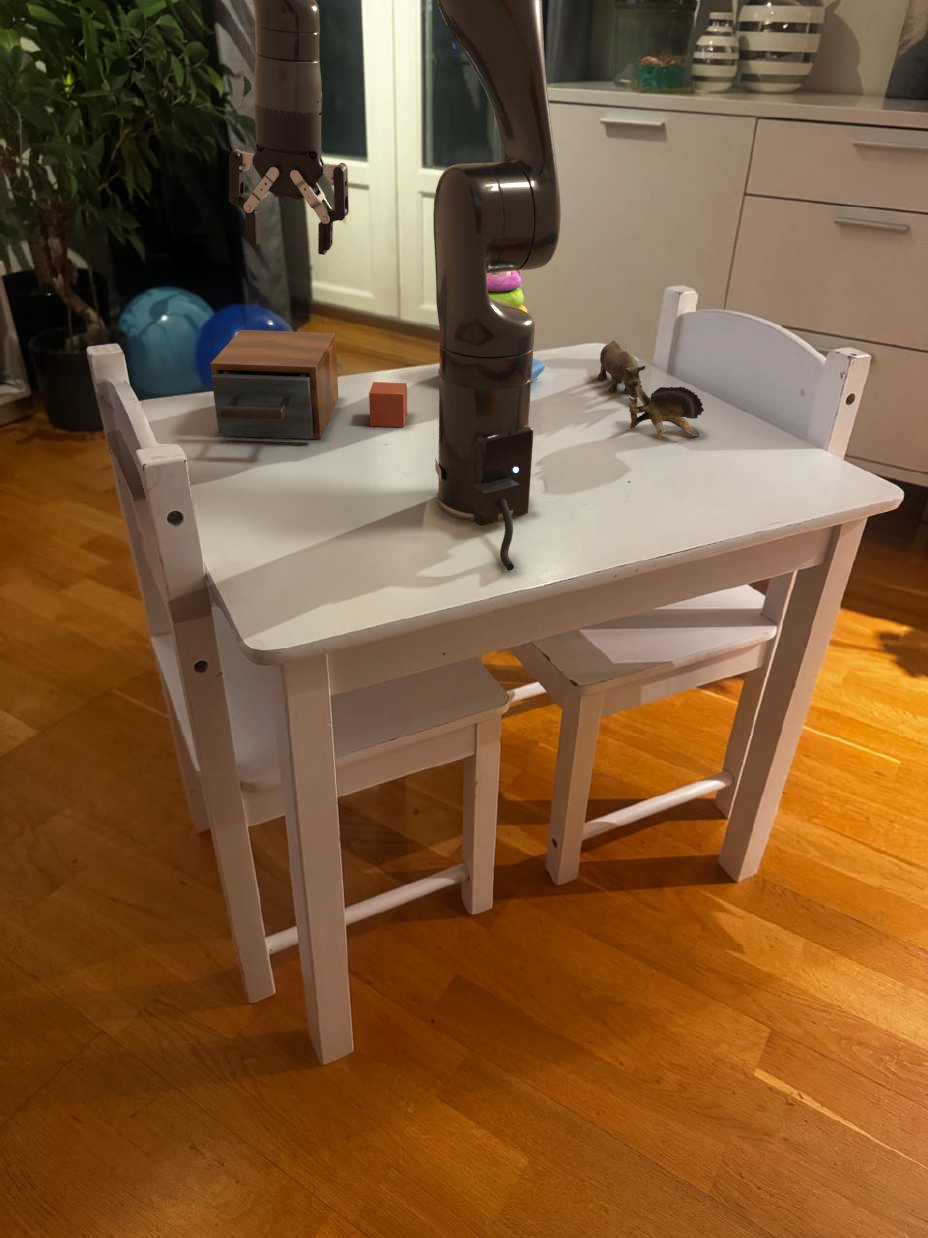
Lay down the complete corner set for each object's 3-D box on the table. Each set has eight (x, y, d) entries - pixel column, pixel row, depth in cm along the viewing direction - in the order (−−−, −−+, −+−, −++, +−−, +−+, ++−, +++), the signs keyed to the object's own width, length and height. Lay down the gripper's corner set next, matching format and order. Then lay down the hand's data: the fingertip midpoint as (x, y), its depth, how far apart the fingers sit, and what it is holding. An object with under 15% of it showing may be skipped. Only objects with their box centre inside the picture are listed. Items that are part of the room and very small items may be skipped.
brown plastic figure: (631, 436, 114) (705, 427, 112) (626, 379, 114) (701, 370, 112) (631, 448, 121) (701, 440, 119) (627, 394, 121) (697, 386, 120)
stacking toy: (474, 361, 142) (479, 197, 129) (549, 376, 136) (561, 206, 124) (427, 385, 132) (427, 209, 119) (505, 402, 126) (514, 220, 114)
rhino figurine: (622, 408, 125) (627, 365, 122) (592, 376, 137) (596, 336, 133) (650, 407, 126) (656, 364, 123) (618, 375, 137) (623, 335, 134)
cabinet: (320, 439, 113) (315, 366, 109) (219, 435, 114) (210, 363, 109) (338, 399, 126) (335, 332, 121) (247, 396, 126) (240, 329, 121)
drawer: (303, 456, 107) (299, 395, 103) (206, 452, 107) (198, 391, 103) (330, 401, 123) (327, 346, 119) (245, 398, 123) (239, 343, 119)
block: (404, 427, 118) (403, 394, 115) (369, 426, 118) (368, 392, 115) (407, 415, 121) (406, 382, 119) (374, 414, 121) (373, 381, 119)
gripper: (216, 98, 102) (224, 248, 112) (342, 115, 102) (339, 264, 112) (237, 88, 108) (243, 231, 118) (356, 105, 108) (351, 247, 118)
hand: (289, 247), depth 115 cm, fingers open, 8 cm apart
